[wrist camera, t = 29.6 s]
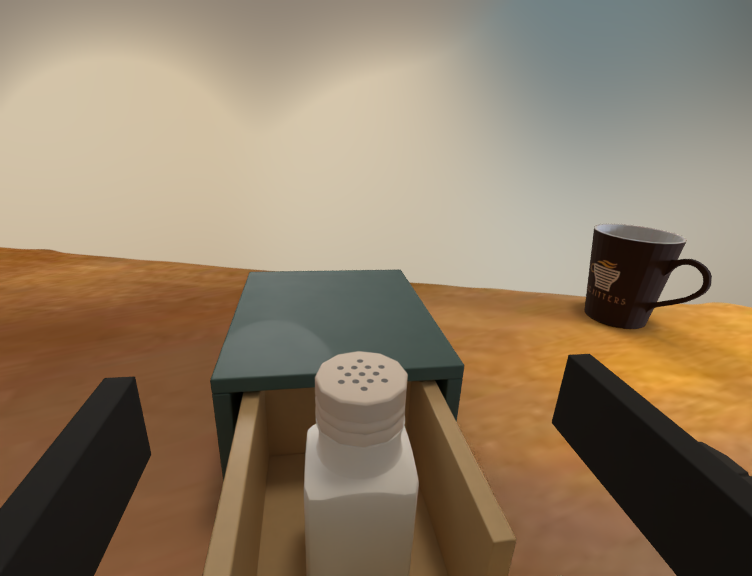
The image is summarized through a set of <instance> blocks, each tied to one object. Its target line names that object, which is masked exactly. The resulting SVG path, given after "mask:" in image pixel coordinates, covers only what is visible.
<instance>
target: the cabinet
mask: <svg viewBox="0 0 752 576" xmlns="http://www.w3.org/2000/svg"><path fill="white" fill-rule="evenodd" d="M357 351H361V352H370V353H379V354H382V355H384V356H386V357H389V358H391V359H393V360H395V361H398V363H399V364H400V365H401V366H402V368H403V369H404V370H405V371H406V373H407V374H408V378H407V382H408V381H424V380H435V381H436V383H437V385H438V387H439V389H440V391H441V393H442V395H443V397H444V399H445V401H446V403H447V405H448V407H449V409H450V411H451V413H452V415H453V416H454V418H455V420H456V422H457V415H458V408H459V401H460V394H461V386H462V378H463V372H464V364H463V362H462V361H461V360H460V358H459V357H458V355H457V354H456V352H455V351H454V349H453V348H452V346H451V345H450V343H449V342H448V340H447V339H446V337H445V336H444V334H443V333H442V331H441V330H440V328H439V327H438V325H437V324H436V322H435V321H434V319H433V318H432V316H431V315H430V313H429V312H428V310H427V309H426V307H425V306H424V304H423V303H422V301H421V300H420V298H419V297H418V295H417V294H416V292H415V291H414V289H413V288H412V286H411V285H410V283H409V282H408V280H407V279H406V277H405V276H404V274H403V273H402V271H401V270H348V271H347V270H346V271H280V272H250V273H249V276H248V278H247V281H246V284H245V286H244V289H243V292H242V295H241V297H240V300H239V303H238V306H237V308H236V311H235V314H234V317H233V319H232V322H231V325H230V328H229V330H228V333H227V336H226V339H225V341H224V344H223V347H222V350H221V352H220V355H219V358H218V361H217V363H216V366H215V369H214V371H213V374H212V377H211V380H210V383H211V390H212V393H213V394H212V398H213V405H214V413H215V421H216V428H217V436H218V444H219V451H220V459H221V467H222V474H223V482H224V477H225V473H226V468H227V464H228V459H229V455H230V450H231V446H232V442H233V437H234V433H235V428H236V424H237V419H238V415H239V410H240V406H241V401H242V397H243V393H244V392H250V391H266V390H281V389H297V388H313V387H315V376H316V374H317V372H318V371H319V369H320V367H321V365H322V363H324V362H326V361H327V360H329V359H331V358H333V357H335V356H336V355H339V354H345V353H351V352H357Z"/></svg>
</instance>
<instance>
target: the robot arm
mask: <svg viewBox="0 0 752 576" xmlns="http://www.w3.org/2000/svg"><path fill="white" fill-rule="evenodd" d="M552 424H553V425H554V426H555V427H556V429H557V430H558V431H559V432H560V434H561V435H562V436H563V437H564V438H565V440H566V441H567V442H568V443H569V445H570V446H571V447H572V448H573V449H574V451H575V452H576V453H577V454H578V456H579V457H580V458H581V459H582V460H583V462H584V463H585V464H586V465H587V467H588V468H589V469H590V470H591V471H592V473H593V474H594V475H595V476H596V477H597V479H598V480H599V481H600V482H601V484H602V485H603V486H604V487H605V488H606V490H607V491H608V492H609V493H610V495H611V496H612V497H613V498H614V499H615V501H616V502H617V503H618V504H619V506H620V507H621V508H622V509H623V510H624V512H625V513H626V514H627V515H628V517H629V518H630V519H631V520H632V521H633V523H634V524H635V525H636V526H637V528H638V529H639V530H640V531H641V532H642V534H643V535H644V536H645V537H646V538H647V540H648V541H649V542H650V543H651V545H652V546H653V547H654V548H655V549H656V551H657V552H658V553H659V554H660V556H661V557H662V558H663V559H664V560H665V562H666V563H667V564H668V565H669V567H670V568H671V569H672V570H673V571H674V573H675V574H676V575H677V576H752V476H749V474H748V472H747V471H745V470H744V469H743V468H742V467H740V466H739V465H738V464H737V463H735V462H734V461H733V460H732V459H730V458H729V457H728V456H726V455H725V454H723V453H721V452H719V451H717V450H716V449H714V448H712V447H710V446H708V445H707V444H705V443H703V442H698V441H696V440H695V439H694V438H693V437H692V436H690V435H689V434H688V433H687V432H685V431H684V430H683V429H682V428H680V427H679V426H678V425H677V424H676V423H674V422H673V421H672V420H671V419H669V418H668V417H667V416H666V415H664V414H663V413H662V412H661V411H659V410H658V409H657V408H656V407H655V406H653V405H652V404H651V403H650V402H648V401H647V400H646V399H645V398H643V397H642V396H641V395H640V394H639V393H637V392H636V391H635V390H634V389H632V388H631V387H630V386H629V385H627V384H626V383H625V382H624V381H623V380H621V379H620V378H619V377H618V376H616V375H615V374H614V373H613V372H611V371H610V370H609V369H608V368H607V367H605V366H604V365H603V364H602V363H600V362H599V361H598V360H597V359H595V358H594V357H593V356H592V355H590V354H577V355H568V359H567V363H566V367H565V371H564V375H563V379H562V383H561V387H560V391H559V395H558V399H557V403H556V407H555V411H554V415H553V419H552ZM150 456H151V451H150V446H149V441H148V436H147V432H146V427H145V422H144V417H143V413H142V408H141V403H140V398H139V394H138V389H137V384H136V379H135V377H118V378H104V379H103V381H102V382H101V383H100V384H99V386H98V387H97V388H96V389H95V391H94V392H93V393H92V394H91V396H90V397H89V398H88V399H87V401H86V402H85V403H84V404H83V406H82V407H81V408H80V409H79V411H78V412H77V413H76V414H75V416H74V417H73V418H72V419H71V421H70V422H69V423H68V424H67V426H66V427H65V428H64V429H63V431H62V432H61V433H60V434H59V436H58V437H57V438H56V439H55V441H54V442H53V443H52V444H51V446H50V447H49V448H48V449H47V451H46V452H45V453H44V454H43V456H42V457H41V458H40V459H39V461H38V462H37V463H36V464H35V466H34V467H33V468H32V469H31V471H30V472H29V473H28V475H27V476H26V477H25V478H24V480H23V481H22V482H21V483H20V485H19V486H18V487H17V488H16V490H15V491H14V492H13V493H12V495H11V496H10V497H9V498H8V500H7V501H6V502H5V503H4V505H3V506H2V507H1V508H0V576H94V574H95V572H96V570H97V568H98V566H99V564H100V562H101V560H102V557H103V555H104V553H105V551H106V549H107V547H108V545H109V543H110V541H111V538H112V536H113V534H114V532H115V530H116V528H117V526H118V524H119V522H120V519H121V517H122V515H123V513H124V511H125V509H126V507H127V505H128V503H129V500H130V498H131V496H132V494H133V492H134V490H135V488H136V486H137V483H138V481H139V479H140V477H141V475H142V473H143V471H144V469H145V467H146V464H147V462H148V460H149V458H150Z"/></svg>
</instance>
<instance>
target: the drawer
mask: <svg viewBox="0 0 752 576" xmlns="http://www.w3.org/2000/svg"><path fill="white" fill-rule="evenodd" d="M315 396H316V395H315V387H313V388H297V389H281V390H266V391H250V392H244V393H243V397H242V401H241V406H240V410H239V415H238V419H237V424H236V428H235V433H234V437H233V442H232V446H231V450H230V455H229V459H228V464H227V468H226V473H225V477H224V482H223V486H222V491H221V495H220V500H219V504H218V508H217V513H216V517H215V522H214V526H213V531H212V535H211V540H210V544H209V549H208V553H207V558H206V562H205V566H204V571H203V575H202V576H306V545H305V515H304V472H305V454H306V441H307V432H308V430H309V429H310V428H311V427H312V426H313V425H315V424H316V415H315V407H316V404H315ZM404 426H405V429H406V432H407V434H408V438H409V441H410V445H411V448H412V452H413V456H414V461H415V465H416V470H417V475H418V480H419V488H418V497H417V506H416V516H415V525H414V534H413V544H412V553H411V562H410V572H409V576H508V572H509V568H510V564H511V560H512V556H513V552H514V548H515V544H516V537H515V535H514V533H513V531H512V530H511V528H510V526H509V524H508V522H507V520H506V518H505V516H504V514H503V512H502V510H501V508H500V506H499V504H498V502H497V500H496V498H495V496H494V494H493V493H492V491H491V489H490V487H489V485H488V483H487V481H486V479H485V477H484V475H483V473H482V471H481V469H480V467H479V465H478V463H477V461H476V459H475V457H474V455H473V454H472V452H471V450H470V448H469V446H468V444H467V442H466V440H465V438H464V436H463V434H462V432H461V430H460V428H459V426H458V424H457V422H456V420H455V418H454V416H453V415H452V413H451V411H450V409H449V407H448V405H447V403H446V401H445V399H444V397H443V395H442V393H441V391H440V389H439V387H438V385H437V383H436V381H435V380H424V381H408V382H407V390H406V402H405V425H404ZM560 576H562V575H560Z"/></svg>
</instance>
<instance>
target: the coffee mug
mask: <svg viewBox="0 0 752 576" xmlns="http://www.w3.org/2000/svg"><path fill="white" fill-rule="evenodd" d="M686 241H687V240H686V239H685V238H684V237H682V236H680V235H677V234H674V233H670V232H667V231H663V230H658V229H653V228H648V227H641V226H633V225H623V224H601V225H596V226H595V227H594V234H593V243H592V251H591V260H590V268H589V277H588V285H587V294H586V302H585V313H586V314H587V315H588V316H589V317H591V318H592V319H594V320H596V321H598V322H601V323H603V324H606V325H610V326H614V327H618V328H626V329H638V328H642V327H644V326H645V325H646V323H647V321H648V319H649V317H650V315H651V313H652V311H653V309H654V308H656V307H661V306H668V305H674V304H680V303H684V302H688V301H690V300H693V299H696V298H698V297H700V296H701V295H703V294H704V293H706V292H707V291H708V289H709V288H710V286H711V277H712V276H711V273H710V271H709V270H708V268H707V267H706V266H704V265H703V264H702V263H700V262H698V261H696V260H693V259H681V260H678V258H679V255H680V253H681V251H682V249H683V247H684V245H685V243H686ZM681 265H692V266H694V267H696V268H697V269H698V270H699V271H700V272H701V273H702V276H703V285H702V287H701V289H700V290H699V291H697V292H696V293H694V294H692V295H690V296H687V297H684V298H680V299H674V300H668V301H662V302H657V301H658V298H659V296H660V294H661V292H662V290H663V288H664V286H665V284H666V282H667V280H668V278H669V276H670V274H671V272H672V271H673V270H674V269H675V268H677V267H678V266H681Z"/></svg>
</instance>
